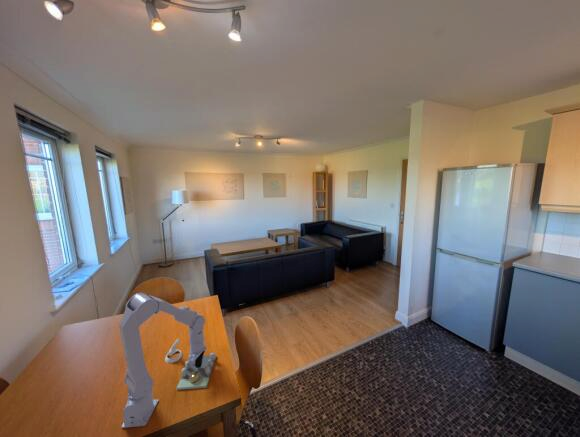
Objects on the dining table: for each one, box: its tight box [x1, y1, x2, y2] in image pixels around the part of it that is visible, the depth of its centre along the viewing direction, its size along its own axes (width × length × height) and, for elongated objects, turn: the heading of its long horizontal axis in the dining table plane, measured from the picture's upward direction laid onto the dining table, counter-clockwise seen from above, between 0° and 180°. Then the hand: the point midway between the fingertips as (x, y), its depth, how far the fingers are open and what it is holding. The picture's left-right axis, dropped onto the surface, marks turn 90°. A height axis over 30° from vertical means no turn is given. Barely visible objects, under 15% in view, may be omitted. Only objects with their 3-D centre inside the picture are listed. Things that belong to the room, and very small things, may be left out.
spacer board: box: [176, 352, 217, 391], centre depth 99 cm, size 17×12×4 cm
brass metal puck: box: [189, 371, 200, 383], centre depth 94 cm, size 4×4×2 cm
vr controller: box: [164, 338, 183, 364], centre depth 108 cm, size 8×12×7 cm
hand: (198, 366), depth 100 cm, fingers closed
